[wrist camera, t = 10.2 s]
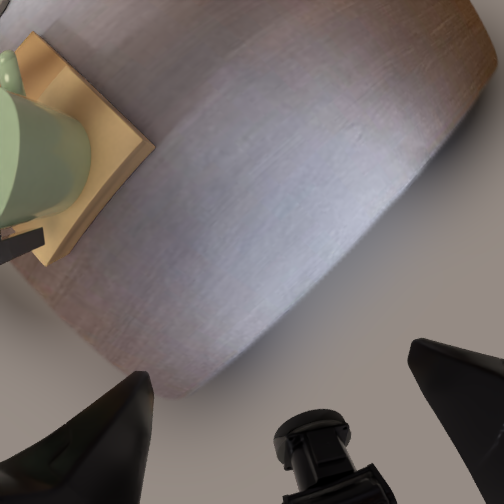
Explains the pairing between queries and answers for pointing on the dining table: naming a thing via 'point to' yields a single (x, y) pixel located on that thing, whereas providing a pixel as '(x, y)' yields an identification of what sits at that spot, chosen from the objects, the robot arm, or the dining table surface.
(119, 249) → the dining table surface
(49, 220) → the stand
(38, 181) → the kettle
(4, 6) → the travel mug
